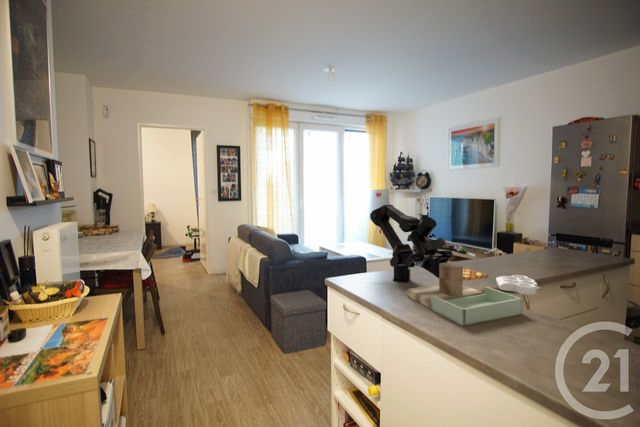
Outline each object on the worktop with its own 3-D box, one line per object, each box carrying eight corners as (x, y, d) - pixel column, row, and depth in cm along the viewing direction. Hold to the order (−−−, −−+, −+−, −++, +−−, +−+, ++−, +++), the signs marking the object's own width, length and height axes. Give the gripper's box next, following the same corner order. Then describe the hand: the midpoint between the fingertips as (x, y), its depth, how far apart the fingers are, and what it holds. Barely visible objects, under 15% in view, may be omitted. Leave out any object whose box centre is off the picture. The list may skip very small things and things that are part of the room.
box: (431, 310, 109) (431, 295, 109) (485, 300, 118) (486, 286, 117) (463, 326, 96) (463, 309, 96) (522, 313, 105) (522, 298, 104)
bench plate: (407, 296, 123) (407, 288, 123) (454, 289, 131) (454, 281, 130) (433, 309, 110) (433, 300, 110) (483, 300, 118) (483, 292, 117)
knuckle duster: (494, 280, 143) (534, 283, 137) (500, 293, 126) (545, 297, 120) (495, 273, 142) (534, 276, 137) (500, 284, 126) (545, 288, 120)
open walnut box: (439, 291, 119) (439, 264, 118) (450, 289, 121) (450, 262, 120) (451, 296, 114) (451, 267, 113) (462, 294, 115) (462, 266, 115)
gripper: (410, 232, 123) (429, 268, 113) (450, 229, 129) (471, 262, 120) (398, 250, 131) (415, 284, 121) (436, 246, 137) (455, 278, 128)
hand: (440, 277), depth 122 cm, fingers closed
